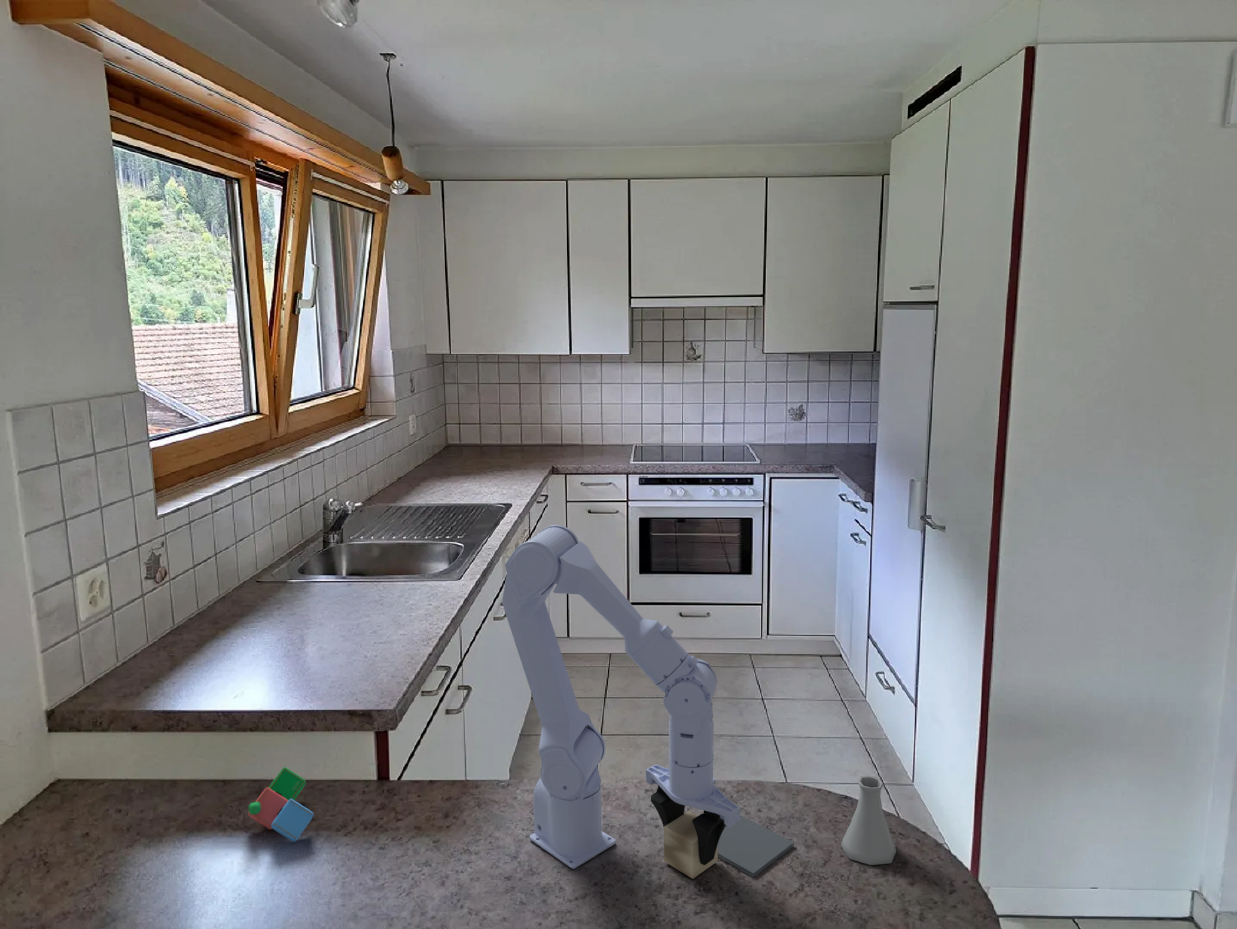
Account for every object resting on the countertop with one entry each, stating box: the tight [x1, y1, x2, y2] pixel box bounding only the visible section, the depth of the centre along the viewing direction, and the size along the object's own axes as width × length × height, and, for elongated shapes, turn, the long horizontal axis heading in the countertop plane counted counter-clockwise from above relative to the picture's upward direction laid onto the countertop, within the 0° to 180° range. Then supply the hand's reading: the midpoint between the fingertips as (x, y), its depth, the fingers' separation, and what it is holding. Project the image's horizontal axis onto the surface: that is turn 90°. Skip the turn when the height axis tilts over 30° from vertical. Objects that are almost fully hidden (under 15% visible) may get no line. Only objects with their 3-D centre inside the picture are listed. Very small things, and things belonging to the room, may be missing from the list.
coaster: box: [718, 815, 795, 878], centre depth 114 cm, size 9×9×1 cm
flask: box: [840, 775, 897, 866], centre depth 112 cm, size 7×7×10 cm
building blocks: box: [247, 766, 315, 843], centre depth 120 cm, size 8×8×12 cm
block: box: [663, 811, 719, 879], centre depth 110 cm, size 5×5×5 cm
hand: (690, 851), depth 110 cm, fingers closed on block, 5 cm apart
